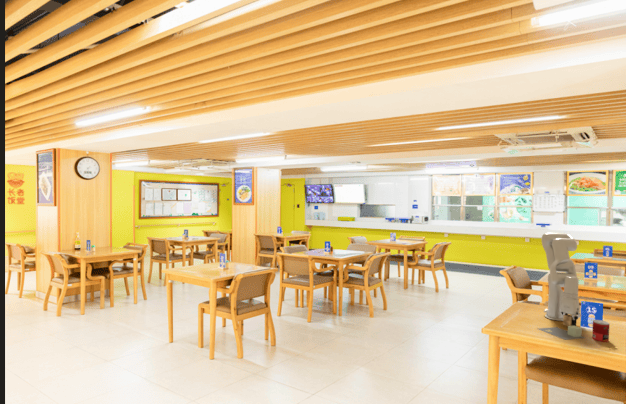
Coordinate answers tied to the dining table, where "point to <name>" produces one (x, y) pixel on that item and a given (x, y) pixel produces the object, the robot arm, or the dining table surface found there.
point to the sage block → (575, 331)
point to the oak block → (567, 320)
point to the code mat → (559, 333)
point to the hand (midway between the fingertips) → (569, 324)
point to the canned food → (600, 330)
